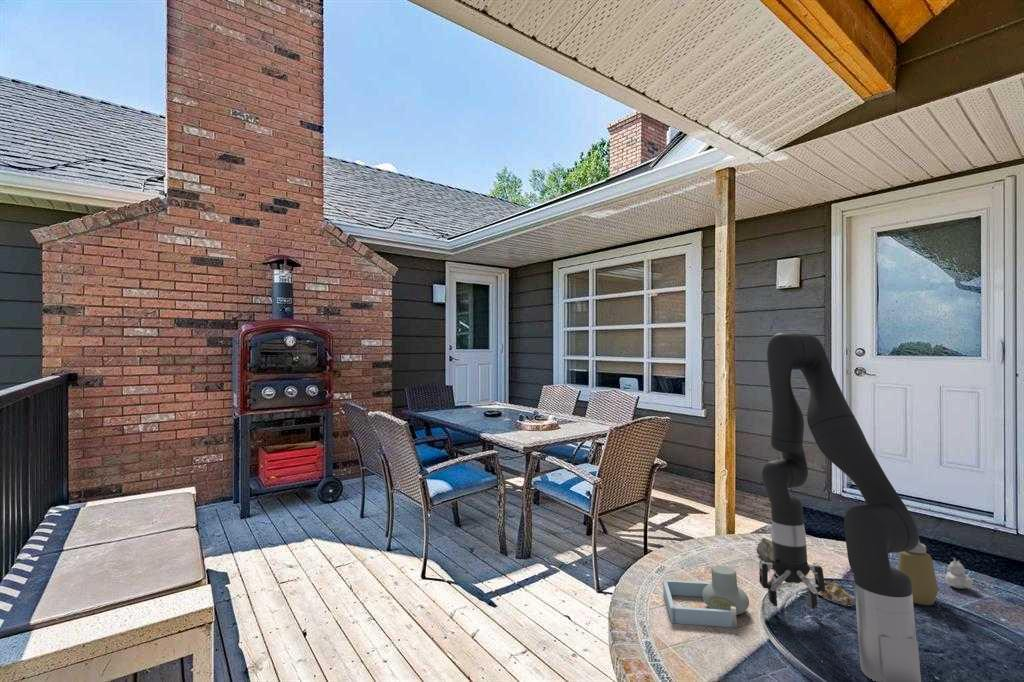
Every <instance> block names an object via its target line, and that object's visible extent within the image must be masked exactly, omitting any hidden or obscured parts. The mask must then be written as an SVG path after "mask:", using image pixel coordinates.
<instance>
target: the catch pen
mask: <svg viewBox="0 0 1024 682" xmlns="http://www.w3.org/2000/svg"><path fill="white" fill-rule="evenodd" d="M710 583H712V581H710V582H709V581H695V580H694V581H692V580H689V581H688V580H675V579H674V580H673V579H662V590H663V591H662V593H663V596H664V600H665V604H666V607H667V611H668V614H669V619H670V623H671V624H681V625H696V626H707V627H708V626H709V627H720V628H721V627H722V628H724V627H725V628H735V629H736V628H738V624H737V620H738V619H737V615H736V608H735V607H734V606H730V608H731V610H721V609H711V608H704V607H703V608H702V607H691V606H689V607H688V606H675V604H674V600H673V598H672V596H684V597H686V596H687V597H697V598H698V597H701V598H703V597H702V592H703V589H704V588H705V587H706V586H707V585H708V584H710Z"/></svg>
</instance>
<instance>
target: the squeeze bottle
mask: <svg viewBox="0 0 1024 682" xmlns="http://www.w3.org/2000/svg"><path fill="white" fill-rule="evenodd" d="M897 568H898V569H897V570H899V571H902V572H903V573H905V574H906V575H908V577H909V578H910V580H911V583H912V594H913V604H918V605H924V606H932V605H934V603H935V601H936V598H937V595H938V593H939V587H938V582H937V577H936V572H935V568H934V562H933V557H932V556H931V555H930V554H929V553H927V546H926V545H925V544H924V543H921V540H919V541H918V544H917V546H916V547H915V548H914V549H913V550H910V551H905V552H898V566H897Z"/></svg>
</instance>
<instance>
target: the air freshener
mask: <svg viewBox="0 0 1024 682" xmlns="http://www.w3.org/2000/svg"><path fill="white" fill-rule="evenodd" d="M737 577H738V576H737V571H736V570H735V569H734V568H732V567H729V566H725V565H715V566H713V567H712V568H711V582H712V583H710V584H708V585H707V586H706V587H705V588H704V589H703V592H702V597H701V598H702V600H703V601H704V603H705V604H706V606H707V607H708V608H709V609H721V610H731V608H730V606H734V607H735V608H736V616H738V615H741V614H743V613H745V612H746V611H747V610H748V608H749V605H750V599H749V597H748V595H747V593H745V591H744V590H743V589H742V588H741V587H740V586H738V581H737V580H738V579H737Z"/></svg>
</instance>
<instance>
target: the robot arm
mask: <svg viewBox="0 0 1024 682" xmlns="http://www.w3.org/2000/svg"><path fill="white" fill-rule="evenodd" d="M766 358H767V368H768V369H767V370H768V378H769V387H770V388H769V389H770V395H771V405H772V408H771V410H772V414H771V415H772V416H771V417H772V418H771V419H772V420H771V434H770V445H771V447H772V448H773V449H774V450H776V451H778V452H781V456H782V459H775V460H769V461H767V462H766V463H765V464H764V465H763V468H762V471H761V478H762V481H763V482H762V483H763V485H764V488H765V491H766V494H767V498H768V500H769V503H770V513H771V514H770V515H771V526H770V529H771V530H770V531H771V533H770V537H771V541H772V549H773V561H772V563H767V562H764V561H763V560H762V559H761V560H760V561H759V566H758V567H759V572H758V573H759V579H758V580H759V583H760V585H761V586H762V588H763V589H766V590H767V593H768V600H769V602H770V603H771V604H772V606H773V607H778V599H777V597H778V596H777V591H776V590H777V589H778V588H779V587H780V586H781V585H782V584H783V583H784V582H785V583H796V584H800V583H802V582H803V583H804V585H805V587H807V588H808V589H807V603H808V607H809V608H810V609H811V610H815V609H816V608H817V606H818V600H817V598H818V597H817V593H818V592H820V591H821V592H824V591H825V584H824V581H825V578H824V577H825V576H824V570H823V567H821V565H819V564H818V563H817V562H814V563H813V564H808V551H807V537H806V536H807V534H806V529H805V523H804V509H803V508H804V507H803V504H802V502H801V501H800V499H798V498H796V497H794V496H791V495H790V492H789V489H790V488H791V489H793V488H798V487H802V486H803V485H805V483H806V482H807V479H808V475H809V468H808V463H807V460H806V454H805V450H804V447H803V446H804V445H803V444H804V433H805V429H804V428H805V420H804V419H805V418H804V415H803V412H802V409H801V407H800V405H799V403H798V400H797V399H796V396H795V395H794V391H793V389H792V381H791V380H792V371H796V370H797V371H798V370H800V371H801V373H802V374H803V377H804V378H805V381H806V383H807V385H808V387H809V388H808V389H809V401H808V406H807V413H806V414H807V416H806V417H807V424H808V427H809V430H810V432H811V435H812V436H813V440H814V441H815V443H816V445H817V447H818V449H819V450H820V451H821V453H822V454H823V455H824V456H825V458H827V459H828V460H829V461H830V462H831V463H832V464H833V465H835V466H836V467H837V468H838V469H839V470H840V471H841V472H842V473H844V474H845V475H846V476H847V477H848V478H849V479H850V480H851V481H852V482H853V483H854V485H855V486H856V487H857V489H858V490H859V492H860V494H861V496H862V498H863V499H864V501H865V504H860V505H853V506H851V507H849V508H848V509H847V510H846V512H845V514H844V519H843V529H844V530H843V531H844V536H845V537H844V538H845V545H846V553H847V554H846V555H847V560H848V564H849V567H850V570H851V572H852V575H853V585H854V597H855V600H854V601H855V609H856V610H855V612H856V613H855V614H856V624H857V626H856V627H857V637H858V638H857V639H858V648H859V649H858V651H859V652H858V653H859V662H860V669H861V672H862V673H863V674H864V676H865V677H867V678H868V679H869V680H871V679H872V680H871V681H873V682H874V681H876V682H922V678H921V677H922V676H921V667H920V666H921V664H920V655H919V653H920V652H919V642H918V640H917V634H916V633H917V632H916V622H915V612H914V603H913V594H912V583H911V580H910V578H909V577H908V575H906V574H905V573H903V572H902V571H899V570H898V569H897V568H894V567H892V566H891V563H890V558H889V554H892V553H899V552H905V551H910V550H913V549H914V548H915V547H916V546H917V544H918V541H920V536H919V530H918V526H917V524H916V522H915V520H914V517H913V516H912V514H911V512H910V511H909V509H908V507H907V505H906V504H905V503H904V502H903V499H902V498H901V497H900V495H899V494H898V492H897V491H896V489H895V488H894V486H893V485H892V483H891V481H890V480H889V478H888V477H887V475H886V474H885V472H884V470H883V468H882V467H881V466H882V465H880V463H879V461H878V460H877V459H878V458H877V457H876V456H875V453H874V452H873V450H872V448H871V446H870V445H869V442H868V441H867V438H866V436H865V434H864V432H863V430H862V428H861V427H860V424H859V422H858V420H857V418H856V417H855V415H854V413H853V412H852V410H851V408H850V406H849V405H848V402H847V399H846V397H845V396H844V393H843V392H842V390H841V387H840V385H839V383H838V381H837V379H836V377H835V374H834V372H833V369H832V366H831V364H830V361H829V358H828V355H827V353H826V350H825V348H824V346H823V343H822V342H821V341H820V339H819V338H817V336H815V335H814V334H811V333H807V332H778V333H776V334H774V335H773V336H771V338H770V339H769V342H768V344H767V350H766ZM771 569H772V570H774V573H772V575H771V578H770V579H769V577H768V573H770V572H771ZM810 571H811V573H812V574H813V576H814V583H815V584H812V583H811V581H810V580H809V579H808V578H807V576H808V574H809V573H810ZM768 579H769V581H768Z"/></svg>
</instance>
